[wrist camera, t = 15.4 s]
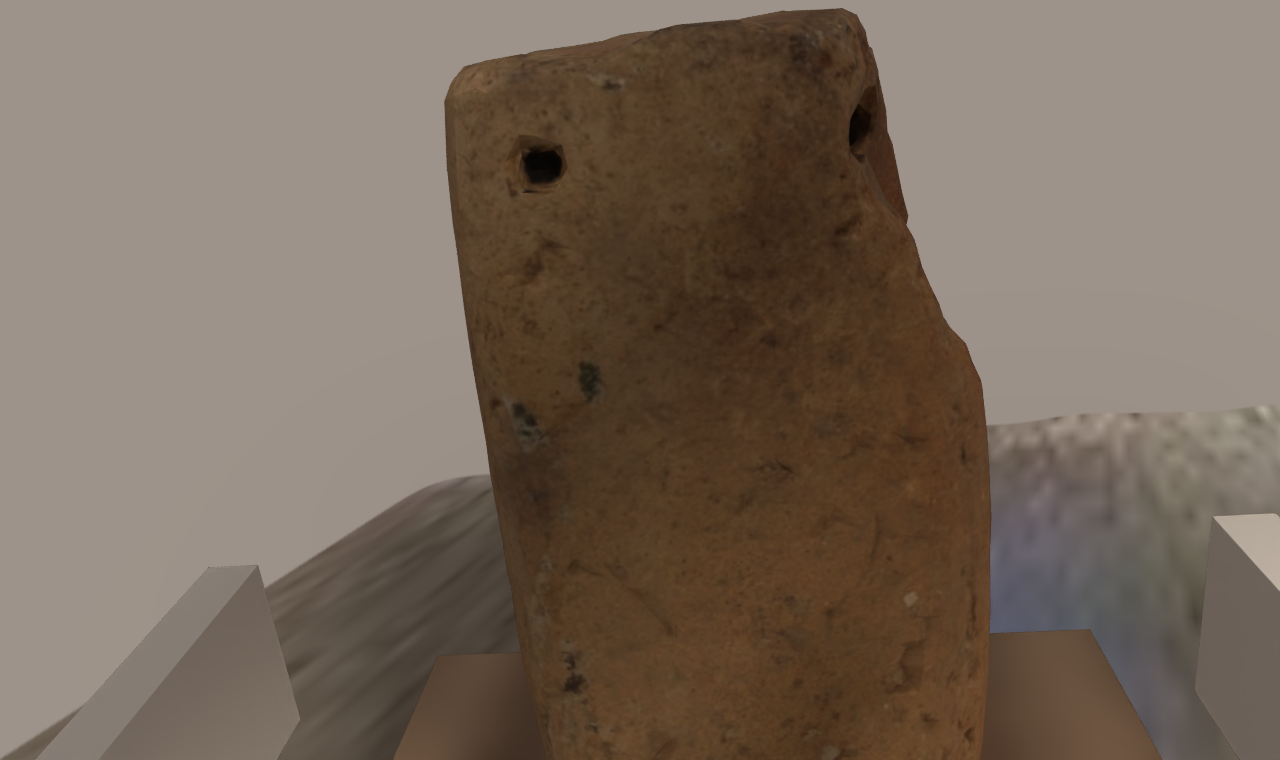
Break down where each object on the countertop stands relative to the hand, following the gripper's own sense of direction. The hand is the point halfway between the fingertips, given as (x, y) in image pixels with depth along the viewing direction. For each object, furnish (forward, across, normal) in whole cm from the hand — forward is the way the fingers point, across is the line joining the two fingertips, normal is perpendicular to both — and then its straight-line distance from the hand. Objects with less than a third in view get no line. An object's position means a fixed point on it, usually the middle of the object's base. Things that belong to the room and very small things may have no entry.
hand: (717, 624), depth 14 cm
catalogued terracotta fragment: (+10, 0, -12) cm, 16 cm away
